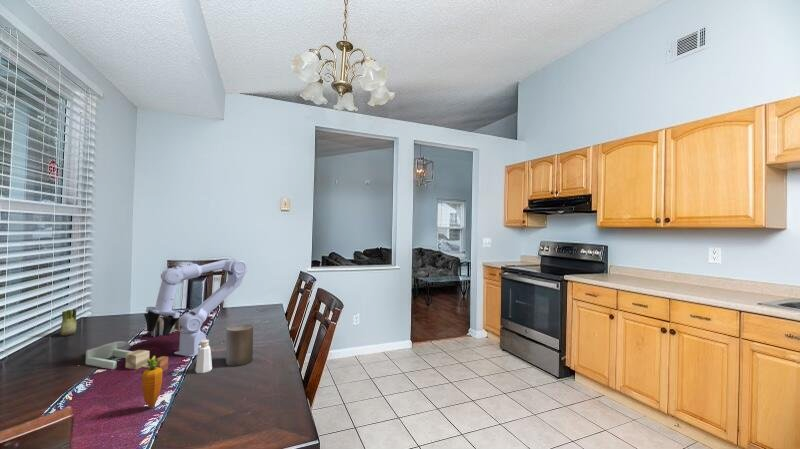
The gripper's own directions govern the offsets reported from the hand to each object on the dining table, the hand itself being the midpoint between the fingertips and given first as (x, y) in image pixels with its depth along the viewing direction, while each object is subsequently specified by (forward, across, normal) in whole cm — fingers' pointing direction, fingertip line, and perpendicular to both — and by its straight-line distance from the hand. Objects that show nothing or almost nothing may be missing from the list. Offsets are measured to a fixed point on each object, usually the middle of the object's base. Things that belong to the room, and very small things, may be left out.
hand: (157, 333), depth 133 cm
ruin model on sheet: (+9, -24, +28) cm, 37 cm away
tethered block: (+11, +5, -6) cm, 13 cm away
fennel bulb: (+14, -63, +13) cm, 66 cm away
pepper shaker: (+8, +26, -2) cm, 27 cm away
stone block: (+13, -24, +1) cm, 27 cm away
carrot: (+12, +32, -27) cm, 43 cm away
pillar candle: (+6, +32, +9) cm, 34 cm away
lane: (+12, -12, -5) cm, 17 cm away
